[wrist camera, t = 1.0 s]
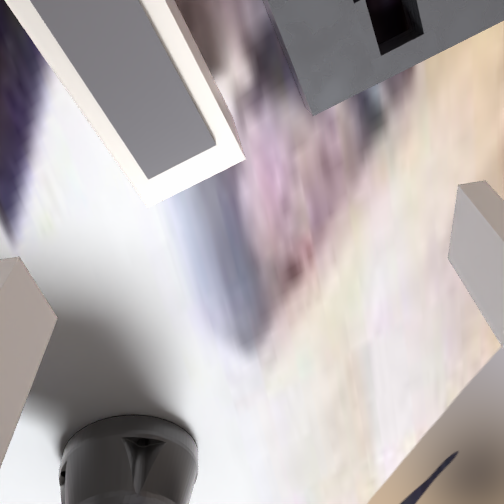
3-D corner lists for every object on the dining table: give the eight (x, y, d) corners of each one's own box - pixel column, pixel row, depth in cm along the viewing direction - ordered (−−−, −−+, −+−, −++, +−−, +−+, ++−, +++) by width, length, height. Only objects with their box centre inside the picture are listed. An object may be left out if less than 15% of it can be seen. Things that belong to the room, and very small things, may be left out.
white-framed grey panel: (157, 146, 33) (147, 210, 25) (14, -84, 25) (-74, -109, 17) (230, 109, 33) (246, 161, 24) (106, -141, 25) (63, -199, 16)
